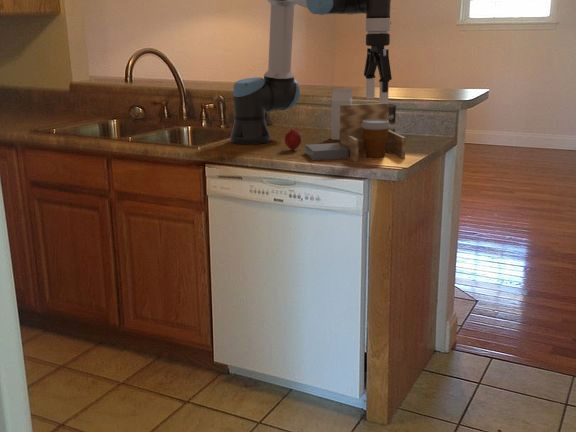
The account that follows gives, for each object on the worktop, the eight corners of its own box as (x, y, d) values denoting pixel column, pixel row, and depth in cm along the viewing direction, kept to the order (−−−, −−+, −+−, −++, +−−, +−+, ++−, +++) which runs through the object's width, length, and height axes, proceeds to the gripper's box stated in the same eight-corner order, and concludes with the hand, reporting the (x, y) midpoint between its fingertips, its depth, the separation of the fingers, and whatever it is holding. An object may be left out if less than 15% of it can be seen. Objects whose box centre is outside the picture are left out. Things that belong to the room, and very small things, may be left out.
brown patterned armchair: (354, 161, 214) (355, 111, 209) (339, 151, 231) (339, 105, 226) (404, 158, 217) (406, 109, 212) (386, 148, 234) (387, 103, 229)
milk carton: (350, 140, 250) (350, 89, 245) (331, 140, 252) (331, 89, 246) (352, 137, 257) (352, 87, 252) (333, 136, 259) (334, 87, 253)
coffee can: (398, 145, 239) (400, 106, 235) (371, 146, 238) (372, 107, 234) (390, 140, 249) (391, 102, 245) (363, 141, 247) (364, 103, 243)
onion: (285, 148, 236) (285, 126, 234) (301, 148, 236) (301, 126, 234) (284, 151, 231) (283, 129, 229) (300, 151, 230) (300, 129, 228)
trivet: (313, 160, 216) (313, 151, 216) (305, 153, 228) (305, 144, 227) (348, 158, 219) (348, 149, 218) (338, 151, 230) (338, 142, 229)
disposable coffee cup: (356, 155, 223) (357, 119, 220) (383, 153, 225) (384, 118, 222) (366, 160, 214) (366, 123, 211) (393, 158, 216) (394, 122, 213)
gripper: (403, 32, 197) (401, 104, 203) (376, 32, 221) (375, 96, 227) (379, 33, 196) (378, 105, 202) (354, 32, 220) (354, 97, 225)
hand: (376, 100), depth 214 cm, fingers open, 13 cm apart
